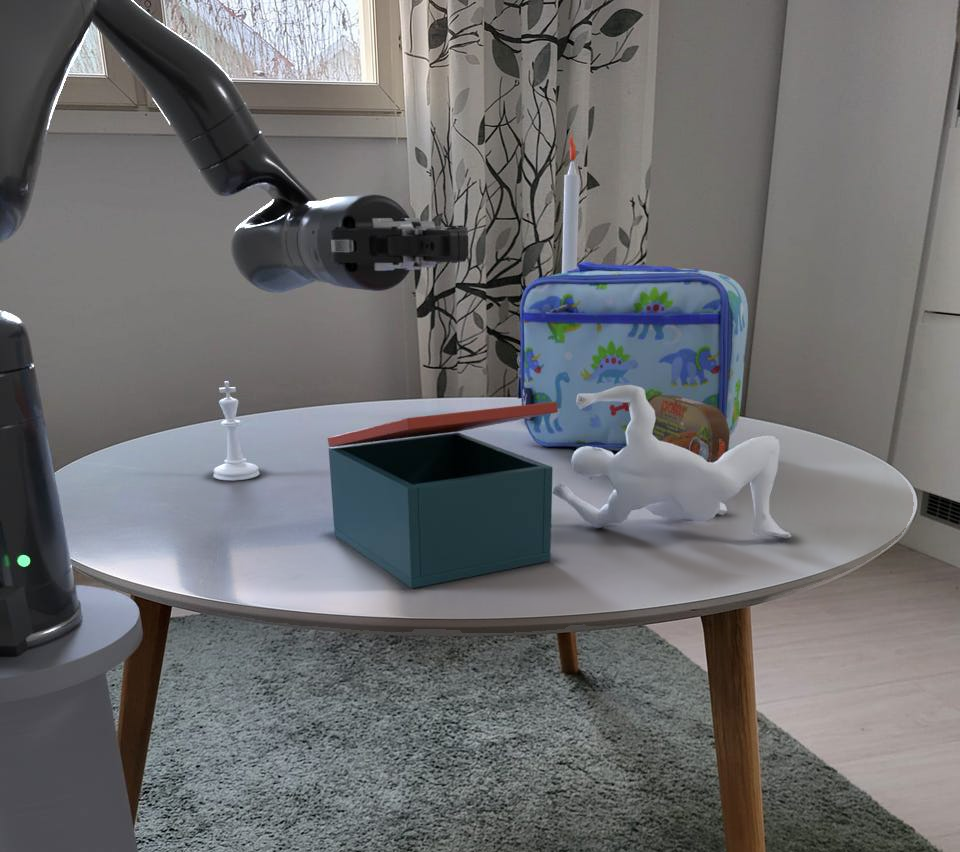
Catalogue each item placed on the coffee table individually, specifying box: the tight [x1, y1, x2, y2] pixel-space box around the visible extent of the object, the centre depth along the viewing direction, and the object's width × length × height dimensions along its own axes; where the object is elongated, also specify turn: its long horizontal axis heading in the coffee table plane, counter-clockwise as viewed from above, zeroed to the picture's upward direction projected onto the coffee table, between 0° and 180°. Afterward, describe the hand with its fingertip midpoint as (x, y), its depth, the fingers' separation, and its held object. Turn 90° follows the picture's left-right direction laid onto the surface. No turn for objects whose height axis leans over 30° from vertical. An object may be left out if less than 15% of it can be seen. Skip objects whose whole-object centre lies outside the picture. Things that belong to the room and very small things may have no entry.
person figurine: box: [552, 385, 792, 539], centre depth 83 cm, size 13×13×18 cm
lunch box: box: [516, 260, 749, 452], centre depth 113 cm, size 26×11×21 cm, turn 62°
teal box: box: [328, 432, 554, 589], centre depth 80 cm, size 16×13×8 cm
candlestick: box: [561, 133, 581, 273], centre depth 124 cm, size 11×11×35 cm
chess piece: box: [213, 380, 261, 482], centre depth 104 cm, size 5×5×10 cm
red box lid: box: [327, 402, 558, 448], centre depth 78 cm, size 17×13×1 cm
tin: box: [647, 394, 731, 463], centre depth 101 cm, size 15×3×8 cm, turn 19°
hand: (458, 246), depth 71 cm, fingers closed
